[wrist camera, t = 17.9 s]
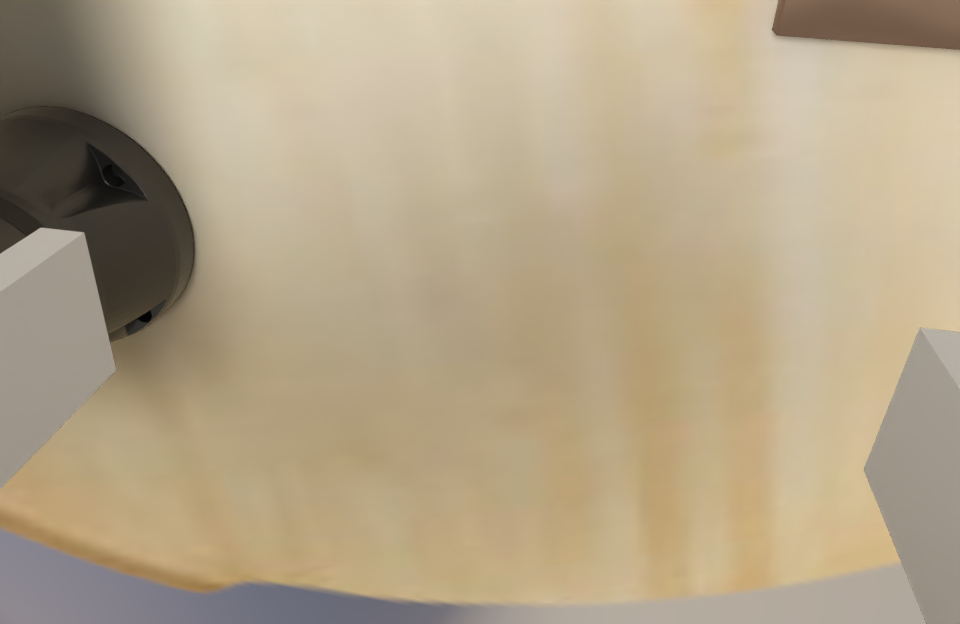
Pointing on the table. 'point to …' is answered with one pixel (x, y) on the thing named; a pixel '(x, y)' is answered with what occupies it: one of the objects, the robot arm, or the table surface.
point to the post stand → (872, 21)
